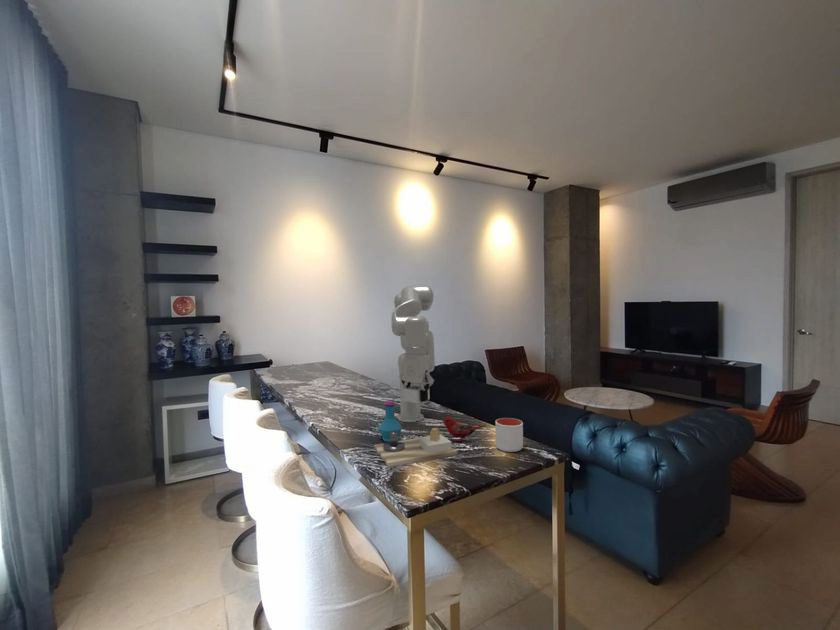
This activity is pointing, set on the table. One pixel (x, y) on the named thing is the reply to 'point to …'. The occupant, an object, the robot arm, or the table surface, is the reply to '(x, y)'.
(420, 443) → the block
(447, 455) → the board
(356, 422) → the table surface
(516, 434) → the cup
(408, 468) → the table surface
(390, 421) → the perfume bottle
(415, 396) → the steel collar
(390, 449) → the rod stand
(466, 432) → the decorative bird figurine
